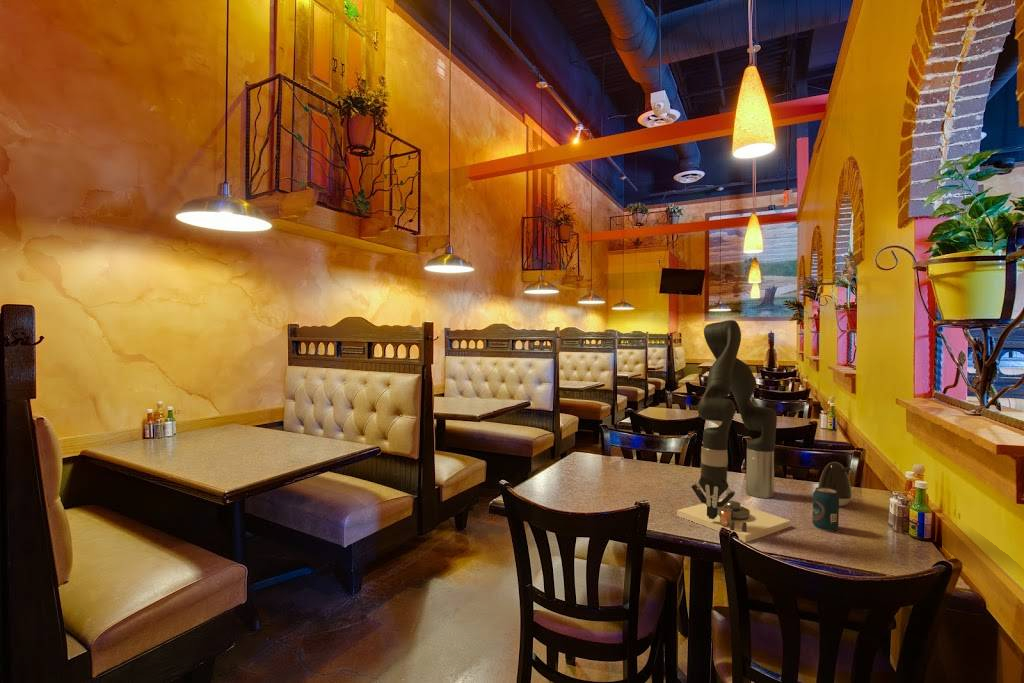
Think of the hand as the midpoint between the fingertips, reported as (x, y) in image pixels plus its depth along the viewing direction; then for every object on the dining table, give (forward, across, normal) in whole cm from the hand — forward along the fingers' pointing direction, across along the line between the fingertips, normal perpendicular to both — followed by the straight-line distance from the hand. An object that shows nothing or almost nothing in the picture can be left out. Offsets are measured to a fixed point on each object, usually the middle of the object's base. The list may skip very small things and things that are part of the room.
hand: (711, 518), depth 152 cm
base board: (+3, +4, +11) cm, 12 cm away
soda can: (+3, +28, +23) cm, 37 cm away
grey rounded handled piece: (+1, +4, +7) cm, 8 cm away
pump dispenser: (+3, +30, +53) cm, 61 cm away
